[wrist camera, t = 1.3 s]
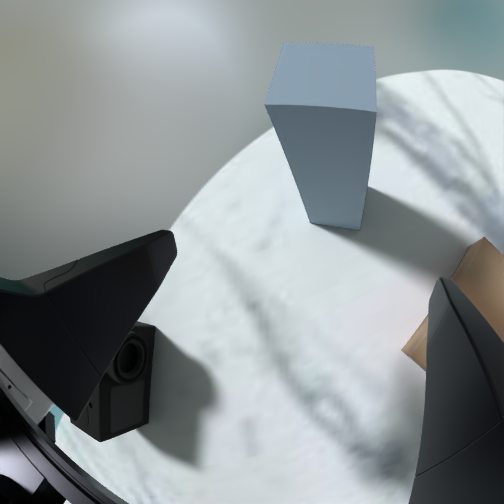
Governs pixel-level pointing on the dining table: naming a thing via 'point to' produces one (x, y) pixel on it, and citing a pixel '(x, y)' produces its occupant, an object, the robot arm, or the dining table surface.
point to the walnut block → (471, 293)
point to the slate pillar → (326, 125)
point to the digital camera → (122, 389)
